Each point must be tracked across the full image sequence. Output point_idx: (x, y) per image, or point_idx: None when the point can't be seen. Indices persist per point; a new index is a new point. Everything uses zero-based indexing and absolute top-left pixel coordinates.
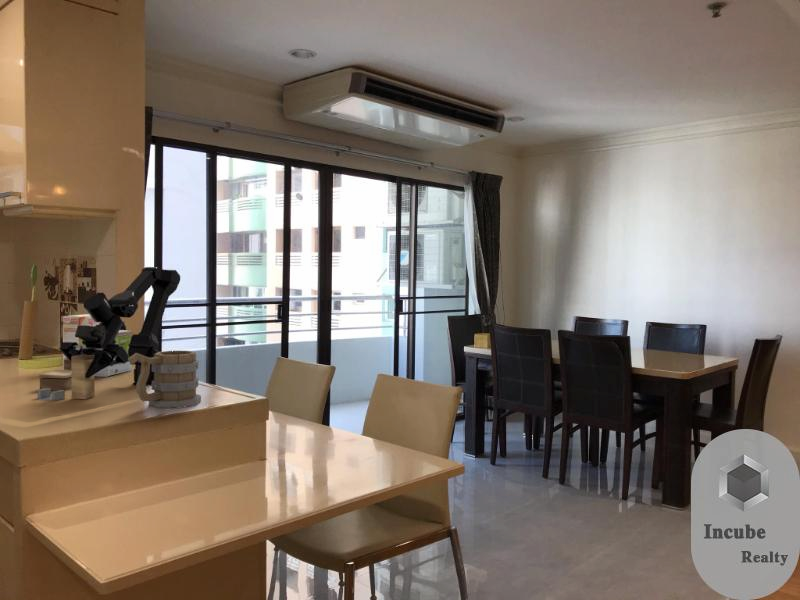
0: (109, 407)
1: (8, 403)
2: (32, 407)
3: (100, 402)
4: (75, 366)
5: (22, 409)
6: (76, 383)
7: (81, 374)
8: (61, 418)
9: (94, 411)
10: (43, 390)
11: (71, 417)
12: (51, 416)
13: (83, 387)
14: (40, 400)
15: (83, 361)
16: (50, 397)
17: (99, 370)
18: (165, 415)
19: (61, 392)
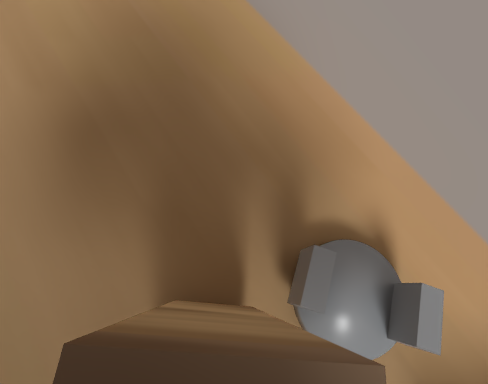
0: (10, 234)
1: (470, 234)
2: (333, 184)
3: None
4: (254, 327)
5: (340, 150)
6: (228, 310)
7: (179, 312)
8: (123, 51)
9: (50, 153)
10: (417, 300)
11: (96, 64)
12: (172, 71)
13: (174, 304)
14: (360, 243)
15: (115, 329)
16: (370, 314)
17: None
18: None
19: (302, 284)
